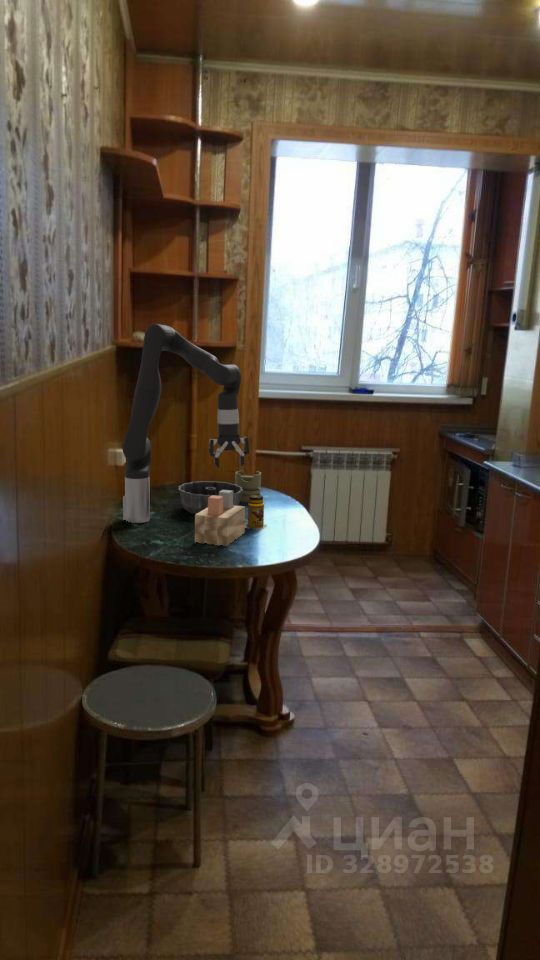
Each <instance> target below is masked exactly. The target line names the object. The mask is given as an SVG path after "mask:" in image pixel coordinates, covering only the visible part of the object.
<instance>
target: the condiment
mask: <svg viewBox="0 0 540 960" xmlns="http://www.w3.org/2000/svg"><path fill="white" fill-rule="evenodd" d="M249 498H250V500H249V502H247V503H248V504H247V505H248V506H247V521H245V529H250V528H253V529H252V530H262V529H264V528H265V527H266V526H267V524H264V523H265V521H264V519H265V503H264V496H263V495H251V496H250V497H249ZM246 526H247V527H246ZM248 527H249V528H248Z"/></svg>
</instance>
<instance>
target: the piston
mask: <svg viewBox="0 0 540 960" xmlns="http://www.w3.org/2000/svg"><path fill="white" fill-rule="evenodd" d="M234 474H235V476H234V477H235V480H234V484H236V485H237V486H240V487H242V490H243V492H242V493H241V498H240V501H242V502H241V503H249V500H250V498H249V497H250V496H251V495H261V492H262V490H261V486H262V472H261V471H259V470H256V471H255V473H254V474H253V475H247V474H246V473H245V472H244V470H237V471H235V473H234ZM261 496H262V495H261Z"/></svg>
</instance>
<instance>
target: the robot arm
mask: <svg viewBox="0 0 540 960" xmlns="http://www.w3.org/2000/svg"><path fill="white" fill-rule="evenodd" d="M142 343H143V344H142V353H141V362H140V367H139V371H138V377H137V383H136V385H135V391H134V396H133V402H132V405H131V412H130V419H129V423H128V427H127V431H126V434H125V437H124V440H123V442H122V447H121V448H122V453H123V455H124V457H125V459H127V460H126V462H127V463H126V467H125V469H124V495H123V496H122V513H123V516H122V519H123V520H126V521H125V522H127V521H128V522H127V523H130V522H131V524H141V523H147V522H149V521H150V517H151V516H150V515H151V513H150V511H151V509H150V508H151V506H150V505H151V504H150V498H151V497H150V494H151V493H150V492H151V491H150V485H151V484H150V471H151V467H152V465H151V464H152V445H151V444H152V443H151V441H150V439H149V438H148V432H149V427H150V424H151V422H152V420H153V417H154V415H155V413H156V411H157V409H158V406H159V402H160V397H161V394H162V388H163V387H162V386H163V385H162V380H161V374H160V370H159V363H160V362H159V361H160V357H161V353H162V351H163V352H165V351H167V352H170V353H173V354H176V355H179V356H180V357H181V358H183V360H185V361H186V363H188V365H190V366H191V367H193V368H195V369H196V370H198V371H200V372H201V373H203V374H205V375H206V376H207V377H208V378H209V379H210V381H212V382H213V383H215V384H217V385H220V386H223V389H222V391H221V392H220V393H218V395H217V439H216V438H209V440H208V455H209V456H210V457H213V460H214V461H213V462H214V463H213V465H214V466H215V468H216V469H219V468H220V459H219V458H220V457H219V456H220V455H221V453H223V451H226V452H227V451H234V450H235V451H236V452H237V453H238V454H239V456H238V457H239V459H238V460H239V461H238V462H239V467H243V466H244V465H245V456H246V455H249V454H250V443H249V438H248V437H247V436H244V437H240V417H239V416H240V415H239V402H238V401H239V399H238V398H239V397H238V396H239V392H240V387H241V383H242V373H241V370H240V368H239V367H238V366H237V365H236V364H222V363H220V362H219V359H218V358H217V357H216V356H215V355H213V354H212V353H210V352H208V351H206V350H204V349H202V348H201V347H198V346H197V345H195V344H194V343H192V342H191V341H189V340H187V339H186V338H185V337H183V336H182V335H181V333H179V332H178V331H176V330H175V329H174V328H173V327H171V326H169V325H165V324H159V323H151V324H150V325H148V327H147V328H146V330H145V333H144V336H143V342H142ZM216 443H217V444H218V445H219V446H218V447H217V448H216V451H215V452H214V447H215V445H216ZM240 443H242V444H243V449H244V450H242V449H241V447H240V446H239V444H240Z"/></svg>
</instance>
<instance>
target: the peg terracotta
mask: <svg viewBox="0 0 540 960" xmlns="http://www.w3.org/2000/svg"><path fill="white" fill-rule="evenodd" d="M222 514H223V496H214V495H212V496H210V497H209V498H208V515H214V516H220V515H222Z"/></svg>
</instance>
